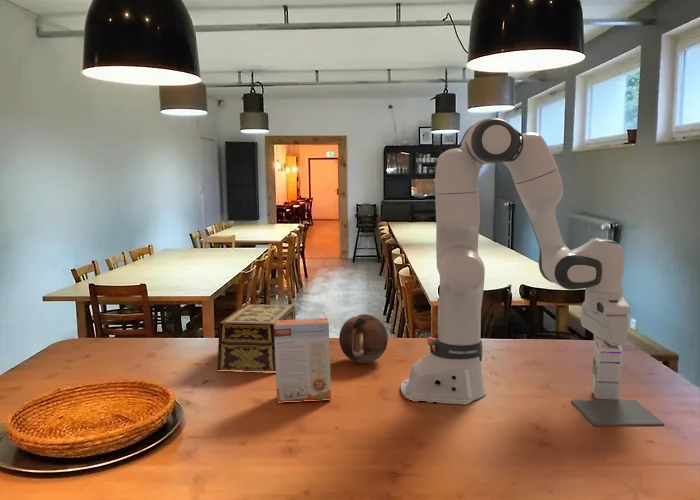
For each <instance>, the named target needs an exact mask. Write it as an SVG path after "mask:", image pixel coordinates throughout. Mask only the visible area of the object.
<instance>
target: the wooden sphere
mask: <svg viewBox="0 0 700 500" xmlns="http://www.w3.org/2000/svg"><path fill="white" fill-rule="evenodd" d="M338 339H339V341H338V342H339V346H340V349H341V351H342V352H343V354H344V355H345V357H347V358H348V359H349V360H350V361H353V362H355V363H357V364H358V363H359V364H369V362H370V363H373V362H374V361H376V360H378V359H379V358H380V357H382V356H383V355H384V353H385V351H386V349H387V346H388V342H389V340H388V339H389V337H388V332H387V329H386V327H385V325H384V323H383V322H382V321H381V319H379V318H378V317H376V316H373V315H371V314H367V313H361V314H360V313H359V314H356V315H353V316H351V317H350V318H348V319H347V320H346V321H345V322H344V323H343V325H342V327H341V329H340V332H339V337H338Z"/></svg>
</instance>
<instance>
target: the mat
mask: <svg viewBox="0 0 700 500" xmlns="http://www.w3.org/2000/svg"><path fill="white" fill-rule="evenodd" d="M570 402H571V403H572V404H573V406H574V407H576V409H577V410H578V412H580V413H581V414H582V415H583V417H585V418H586V419H587V420H588V422H589V423H590V424H592V425H593V427H613V426H614V427H616V426H617V427H618V426H619V427H620V426H622V427H624V426H627V427H628V426H629V427H631V426H632V427H635V426H639V427H640V426H644V427H645V426H665V423H664V422H663V421H662V420H661V419H660V418H658V417H657V416H656V415H654V414H653V413H652V412H651V411H650V410H649V409H647V408H646V407H644V406H643V405H642V404H641V403H640V402H638V401H637V400H636V399H618V400H610V399H589V400H588V399H581V400H579V399H577V400H576V399H575V400H573V399H572V400H570Z"/></svg>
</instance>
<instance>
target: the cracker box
mask: <svg viewBox="0 0 700 500" xmlns="http://www.w3.org/2000/svg"><path fill="white" fill-rule="evenodd" d="M329 322H330V321H329V318H328V317H322V318H320V317H319V318H302V319H301V318H298V319H297V318H296V319H294V320H276V321H275V325H274V338H275V366H276V374H275V386H276V403H277V402H283V401H304V400H323V399H331V400H332V397H331V396H332V389H331V387H332V386H331V385H332V384H331V357H330V356H331V355H330V353H331V352H330V351H331V350H330V323H329Z"/></svg>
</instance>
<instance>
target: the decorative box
mask: <svg viewBox="0 0 700 500" xmlns="http://www.w3.org/2000/svg"><path fill="white" fill-rule="evenodd" d="M294 319H297V318H296V311H295V305H293V304H263V303H262V304H258V303H257V304H253V303H250V304H249V303H247V304H244V305H243V306H242V307H240V308H239V309H237V310H236V311H234V312H233V313H231V314H230V315H229V316H228V317H226V318H224V319H222V320H221V321H220V322H219V325H218V346H217V347H218V348H217V368H216V369H217V370H243V371H276V366H275V338H274V325H275V321H276V320H294Z"/></svg>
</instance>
